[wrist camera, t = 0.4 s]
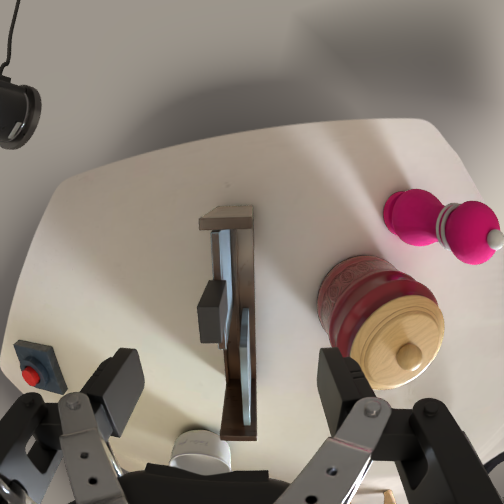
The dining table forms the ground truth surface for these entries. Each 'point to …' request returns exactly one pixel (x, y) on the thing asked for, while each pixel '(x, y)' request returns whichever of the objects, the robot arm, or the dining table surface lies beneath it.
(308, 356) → the dining table surface
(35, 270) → the dining table surface
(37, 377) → the button
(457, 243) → the pepper mill
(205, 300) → the window pane
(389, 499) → the planter
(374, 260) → the kitchen canister
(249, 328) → the window frame
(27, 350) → the button box
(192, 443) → the teacup
